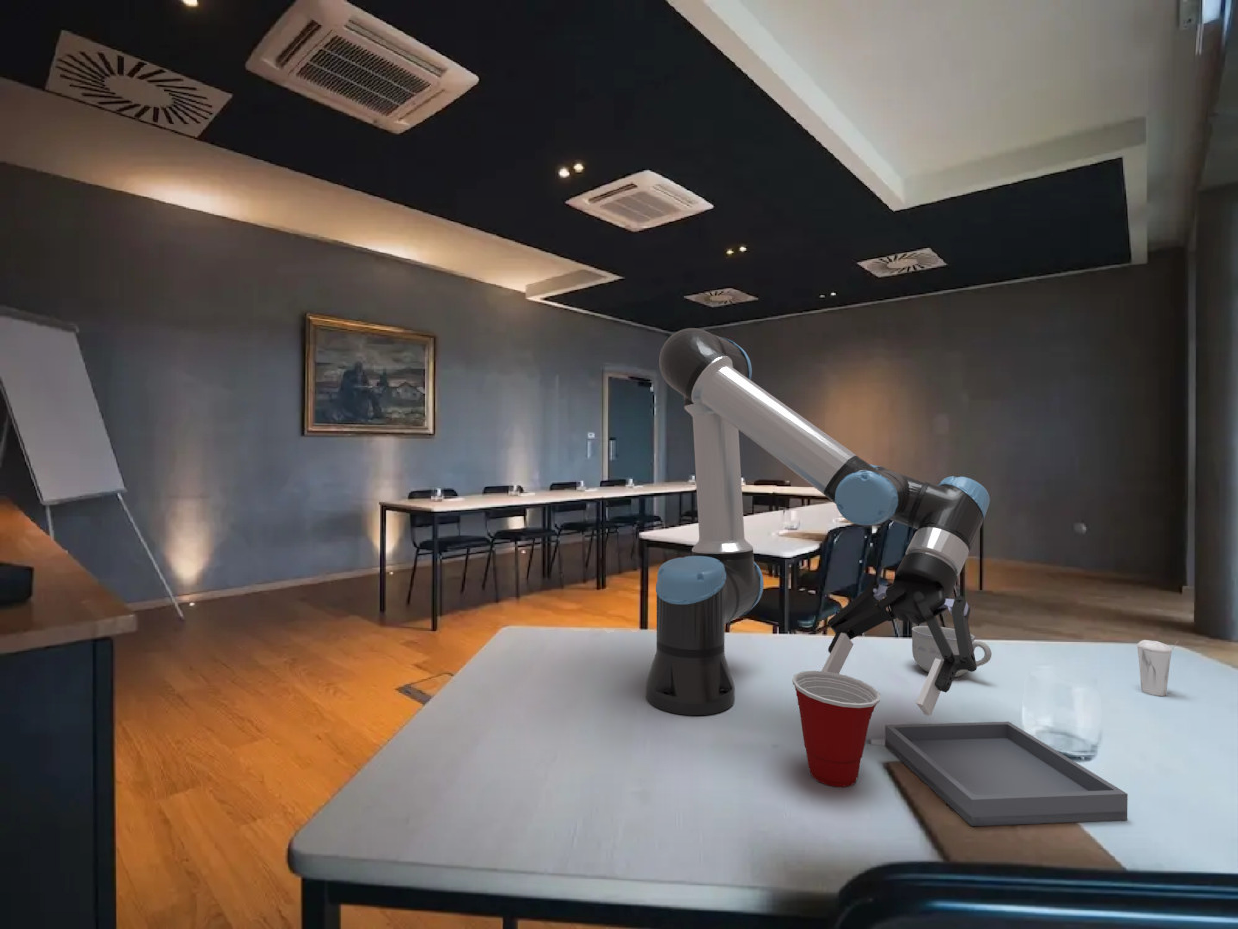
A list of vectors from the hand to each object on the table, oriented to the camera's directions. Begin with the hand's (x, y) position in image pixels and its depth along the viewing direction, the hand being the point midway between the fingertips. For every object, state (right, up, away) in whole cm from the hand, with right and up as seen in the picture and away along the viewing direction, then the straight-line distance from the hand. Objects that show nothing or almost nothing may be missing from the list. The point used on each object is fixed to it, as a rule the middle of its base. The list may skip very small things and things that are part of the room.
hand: (872, 692), depth 78 cm
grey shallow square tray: (+14, -10, -2) cm, 18 cm away
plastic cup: (-6, -10, -2) cm, 12 cm away
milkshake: (+62, -10, +26) cm, 68 cm away
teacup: (+30, -10, +35) cm, 47 cm away
